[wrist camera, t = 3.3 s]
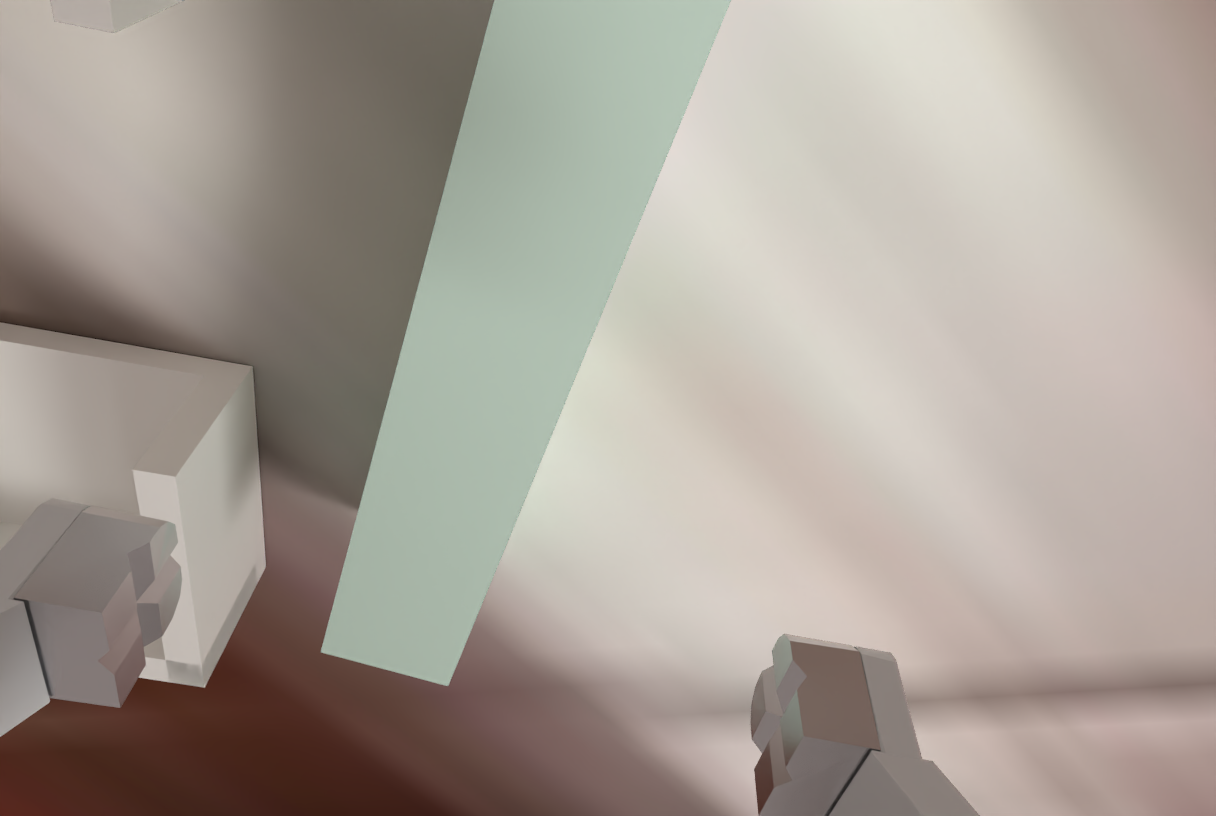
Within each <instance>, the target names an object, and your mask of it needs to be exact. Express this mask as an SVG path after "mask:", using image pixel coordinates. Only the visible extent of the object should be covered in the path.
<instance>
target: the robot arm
mask: <svg viewBox="0 0 1216 816" xmlns="http://www.w3.org/2000/svg"><path fill="white" fill-rule="evenodd" d="M177 543H178V539H177V532H176V526H175V524H173V523H171V522H168V521H164V520H159V519H154V518H149V517H145V516H140V515H135V514H130V513H126V512H121V511H116V510H111V509H106V508H102V507H97V506H90V505H85V504H80V503H75V502H70V501H65V500H60V499H55V498H52V499H50V500H48V501H46V502H44V503H42V504H41V505H39V506H38V507H37V508H36V510H35V511H34V512H33V513H32V514H31V515H30V516H29V518H28V519H27V520H26V521H25V522H24V523H23V525H22V526H21V527H20V528H19V529H18V530H17V532H16V533H15V534H14V535H13V536H12V537H11V538H10V540H9V541H8V542H7V543H6V544H5V545H4V547H3V548H2V549H1V550H0V737H1V736H2V735H4V734H5V733H6V732H8V731H9V730H11V729H12V728H14V727H15V726H17V725H18V724H19V723H21V722H22V721H24V720H25V719H27V718H28V717H29V716H31V715H32V714H34V713H35V712H37V711H38V710H39V709H41V708H42V707H44V706H45V705H47V704H48V703H49V702H50V698H54V699H61V700H68V701H75V702H82V703H89V704H96V705H103V706H111V707H118V708H121V706H122V704H123V703H124V701H125V699H126V697H127V696H128V694H129V692H130V691H131V689H132V687H133V686H134V684H135V682H136V681H137V679H138V677H139V676H140V674H141V672H142V670H143V669H144V667H145V665H146V661H145V654H144V647H145V646H147V645H148V644H150V643H152V642H153V641H155V640H157V639H159V638H160V637H162V636H163V635H164V633H165V631H166V629H167V627H168V626H169V624H170V622H171V620H172V618H173V616H174V613H175V610H176V607H177V604H178V601H179V598H180V593H181V584H182V574H181V566H180V565H179V564H178V563H177V562H176V561H175V560H174V559H173V558H172V556H171V553H172V551H173V550H174V548H175V547H176V545H177ZM772 655H773V664H774V665H773V666H771V667H769V668H768V669H766V670H764V671H762V673H761V675H760V677H759V680H758V682H757V684H756V687H755V691H754V696H753V700H752V705H751V734H752V740H753V741H754V743H755V744H756V746H757V747H758V748H759V750H760V751H761V752H762V755H761V757H760V759H759V761H758V763H757V765H756V767H755V769H754V771H755V782H756V792H757V803H758V814H759V816H980V815H979V814H978V813H977V812H976V811H975V810H974V808H973V807H972V806H971V805H970V804H969V803H968V801H967V800H966V799H965V798H964V797H963V796H962V795H961V793H960V792H959V791H958V790H957V789H956V788H955V786H954V785H953V784H952V783H951V782H950V781H949V780H948V778H947V777H946V776H945V775H944V774H943V773H942V771H941V770H940V769H939V768H938V767H937V766H936V765H935V763H934V762H933V761H929V760H924V759H922V757H921V753H920V749H919V745H918V742H917V738H916V734H915V730H914V726H913V723H912V719H911V715H910V711H909V707H908V704H907V700H906V696H905V692H904V688H903V685H902V681H901V677H900V673H899V669H898V666H897V662H896V659H895V658H894V656H893V655H892V654H891V653H889V652H883V651H878V650H872V649H867V648H861V647H853V646H851V645H846V644H841V643H835V642H829V641H823V640H817V639H811V638H806V637H800V636H794V635H788V634H783V635H782V636H781V637H780V638H779V639H778V640H777V642H776V644H775V646H774V648H773V650H772Z"/></svg>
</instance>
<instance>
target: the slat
mask: <svg viewBox="0 0 1216 816" xmlns="http://www.w3.org/2000/svg"><path fill="white" fill-rule="evenodd" d="M730 2H731V0H494V3H493V7H492V11H491V14H490V18H489V22H488V26H487V29H486V33H485V37H484V41H483V44H482V48H481V52H480V56H479V59H478V63H477V67H476V71H475V74H474V78H473V82H472V86H471V89H470V93H469V97H468V101H467V104H466V108H465V112H464V116H463V119H462V123H461V127H460V131H459V134H458V138H457V142H456V146H455V149H454V153H453V157H452V161H451V165H450V168H449V172H448V176H447V180H446V183H445V187H444V191H443V195H442V198H441V202H440V206H439V210H438V213H437V217H436V221H435V225H434V228H433V232H432V236H431V240H430V243H429V247H428V251H427V255H426V258H425V262H424V266H423V270H422V273H421V277H420V281H419V285H418V288H417V292H416V296H415V300H414V303H413V307H412V311H411V315H410V318H409V322H408V326H407V330H406V333H405V337H404V341H403V345H402V348H401V352H400V356H399V360H398V363H397V367H396V371H395V375H394V379H393V382H392V386H391V390H390V394H389V397H388V401H387V405H386V409H385V412H384V416H383V420H382V424H381V427H380V431H379V435H378V439H377V442H376V446H375V450H374V454H373V457H372V461H371V465H370V469H369V472H368V476H367V480H366V484H365V487H364V491H363V495H362V499H361V502H360V506H359V510H358V514H357V517H356V521H355V525H354V529H353V532H352V536H351V540H350V544H349V547H348V551H347V555H346V559H345V562H344V566H343V570H342V574H341V577H340V581H339V585H338V589H337V592H336V596H335V600H334V604H333V608H332V611H331V615H330V619H329V623H328V626H327V630H326V634H325V638H324V641H323V645H322V649H321V652H322V653H325V654H329V655H333V656H337V657H340V658H344V659H348V660H352V661H355V662H359V663H363V664H367V665H370V666H374V667H378V668H382V669H385V670H389V671H393V672H397V673H400V674H404V675H408V676H412V677H415V678H419V679H423V680H426V681H430V682H434V683H438V684H441V685H445V686H448V685H449V683H450V680H451V678H452V676H453V673H454V671H455V668H456V666H457V663H458V661H459V659H460V656H461V654H462V651H463V649H464V646H465V644H466V642H467V639H468V637H469V634H470V632H471V630H472V627H473V625H474V622H475V620H476V617H477V615H478V613H479V610H480V608H481V605H482V603H483V600H484V598H485V596H486V593H487V591H488V588H489V586H490V583H491V581H492V579H493V576H494V574H495V571H496V569H497V566H498V564H499V562H500V559H501V557H502V554H503V552H504V550H505V547H506V545H507V542H508V540H509V537H510V535H511V533H512V530H513V528H514V525H515V523H516V520H517V518H518V516H519V513H520V511H521V508H522V506H523V503H524V501H525V499H526V496H527V494H528V491H529V489H530V486H531V484H532V482H533V479H534V477H535V474H536V472H537V470H538V467H539V465H540V462H541V460H542V457H543V455H544V453H545V450H546V448H547V445H548V443H549V440H550V438H551V436H552V433H553V431H554V428H555V426H556V423H557V421H558V419H559V416H560V414H561V411H562V409H563V406H564V404H565V402H566V399H567V397H568V394H569V392H570V390H571V387H572V385H573V382H574V380H575V377H576V375H577V373H578V370H579V368H580V365H581V363H582V360H583V358H584V356H585V353H586V351H587V348H588V346H589V343H590V341H591V339H592V336H593V334H594V331H595V329H596V326H597V324H598V322H599V319H600V317H601V314H602V312H603V310H604V307H605V305H606V302H607V300H608V297H609V295H610V293H611V290H612V288H613V285H614V283H615V280H616V278H617V276H618V273H619V271H620V268H621V266H622V263H623V261H624V259H625V256H626V254H627V251H628V249H629V246H630V244H631V242H632V239H633V237H634V234H635V232H636V230H637V227H638V225H639V222H640V220H641V217H642V215H643V213H644V210H645V208H646V205H647V203H648V200H649V198H650V196H651V193H652V191H653V188H654V186H655V183H656V181H657V179H658V176H659V174H660V171H661V169H662V167H663V164H664V162H665V159H666V157H667V154H668V152H669V150H670V147H671V145H672V142H673V140H674V137H675V135H676V133H677V130H678V128H679V125H680V123H681V120H682V118H683V116H684V113H685V111H686V108H687V106H688V103H689V101H690V99H691V96H692V94H693V91H694V89H695V87H696V84H697V82H698V79H699V77H700V74H701V72H702V70H703V67H704V65H705V62H706V60H707V57H708V55H709V53H710V50H711V48H712V45H713V43H714V40H715V38H716V36H717V33H718V31H719V28H720V26H721V23H722V21H723V19H724V16H725V14H726V11H727V9H728V7H729V4H730Z"/></svg>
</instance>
